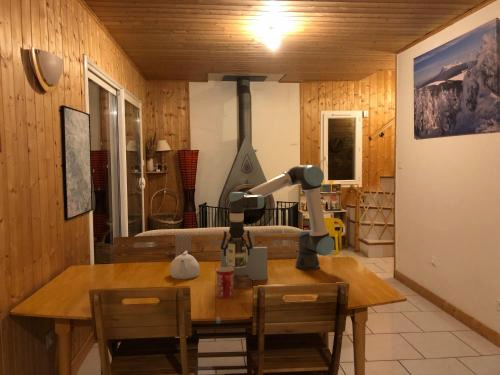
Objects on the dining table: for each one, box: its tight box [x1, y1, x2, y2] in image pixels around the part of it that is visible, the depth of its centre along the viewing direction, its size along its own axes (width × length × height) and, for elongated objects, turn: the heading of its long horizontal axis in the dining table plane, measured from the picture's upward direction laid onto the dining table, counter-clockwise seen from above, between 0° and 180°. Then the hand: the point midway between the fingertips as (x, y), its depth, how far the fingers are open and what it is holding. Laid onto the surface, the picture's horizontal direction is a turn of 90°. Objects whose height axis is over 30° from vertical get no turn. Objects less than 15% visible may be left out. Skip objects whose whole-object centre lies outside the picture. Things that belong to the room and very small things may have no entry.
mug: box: [215, 267, 234, 299], centre depth 211 cm, size 13×9×14 cm
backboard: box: [220, 246, 268, 281], centre depth 242 cm, size 26×2×18 cm, turn 98°
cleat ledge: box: [233, 275, 253, 289], centre depth 233 cm, size 14×14×5 cm
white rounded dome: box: [169, 250, 200, 280], centre depth 251 cm, size 19×18×14 cm
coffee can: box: [226, 238, 247, 268], centre depth 233 cm, size 10×10×14 cm
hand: (236, 261), depth 233 cm, fingers closed on coffee can, 10 cm apart
